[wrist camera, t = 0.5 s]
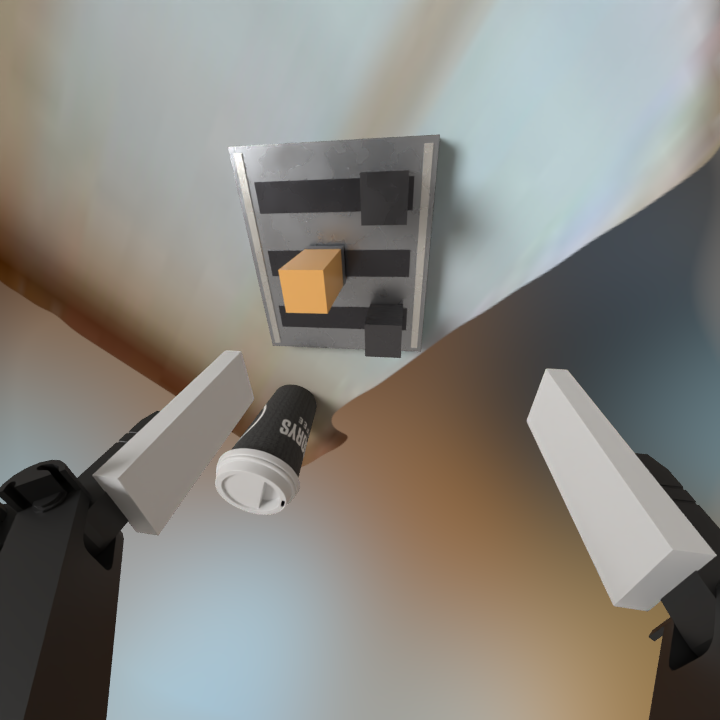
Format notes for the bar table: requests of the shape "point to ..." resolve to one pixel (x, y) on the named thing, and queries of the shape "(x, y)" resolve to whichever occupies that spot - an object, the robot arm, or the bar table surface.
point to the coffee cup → (269, 454)
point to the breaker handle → (313, 279)
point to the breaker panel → (344, 234)
